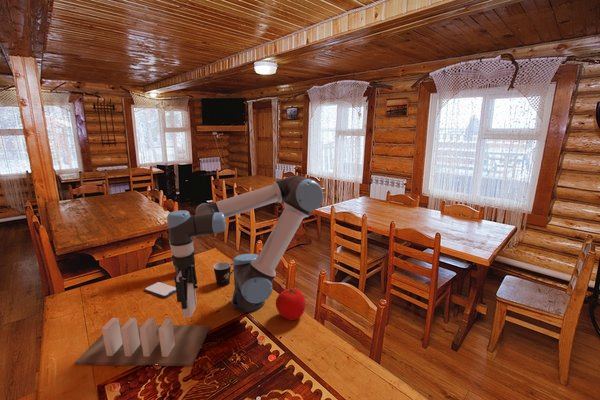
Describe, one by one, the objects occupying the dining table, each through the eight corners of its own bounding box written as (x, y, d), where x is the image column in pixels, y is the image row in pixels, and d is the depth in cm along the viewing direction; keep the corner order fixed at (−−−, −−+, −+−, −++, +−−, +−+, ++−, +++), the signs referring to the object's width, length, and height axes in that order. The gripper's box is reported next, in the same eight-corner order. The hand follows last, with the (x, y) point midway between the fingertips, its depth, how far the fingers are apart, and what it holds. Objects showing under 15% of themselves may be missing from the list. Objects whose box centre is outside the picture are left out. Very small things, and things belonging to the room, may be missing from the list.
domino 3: (157, 344, 110) (154, 318, 108) (149, 356, 105) (145, 329, 102) (152, 344, 110) (148, 318, 108) (143, 356, 105) (139, 328, 102)
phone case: (143, 291, 149) (165, 299, 142) (142, 288, 149) (164, 296, 141) (158, 284, 157) (180, 291, 149) (158, 281, 156) (179, 288, 149)
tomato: (307, 310, 132) (307, 284, 129) (301, 327, 121) (301, 299, 118) (280, 307, 135) (280, 281, 132) (272, 323, 124) (271, 295, 121)
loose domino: (195, 308, 118) (192, 282, 115) (190, 317, 112) (186, 291, 109) (190, 308, 118) (187, 282, 115) (184, 317, 112) (181, 291, 109)
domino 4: (175, 344, 110) (171, 318, 108) (167, 356, 104) (164, 329, 102) (169, 344, 110) (166, 318, 108) (162, 356, 105) (158, 329, 102)
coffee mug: (216, 289, 150) (214, 270, 148) (213, 281, 158) (212, 263, 155) (239, 284, 154) (238, 266, 152) (235, 276, 162) (234, 259, 160)
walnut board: (210, 327, 121) (210, 325, 121) (191, 366, 102) (191, 363, 101) (112, 326, 122) (112, 324, 122) (75, 364, 102) (75, 362, 102)
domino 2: (140, 344, 111) (136, 317, 108) (130, 356, 105) (126, 328, 102) (134, 344, 111) (130, 317, 108) (125, 356, 105) (120, 328, 102)
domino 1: (122, 343, 111) (118, 317, 108) (112, 356, 105) (107, 328, 102) (117, 343, 111) (112, 317, 108) (106, 355, 105) (101, 328, 102)
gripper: (183, 243, 118) (189, 295, 124) (160, 265, 100) (169, 325, 105) (202, 243, 118) (207, 295, 123) (182, 265, 99) (190, 325, 105)
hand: (190, 309), depth 114 cm, fingers closed on loose domino, 6 cm apart
